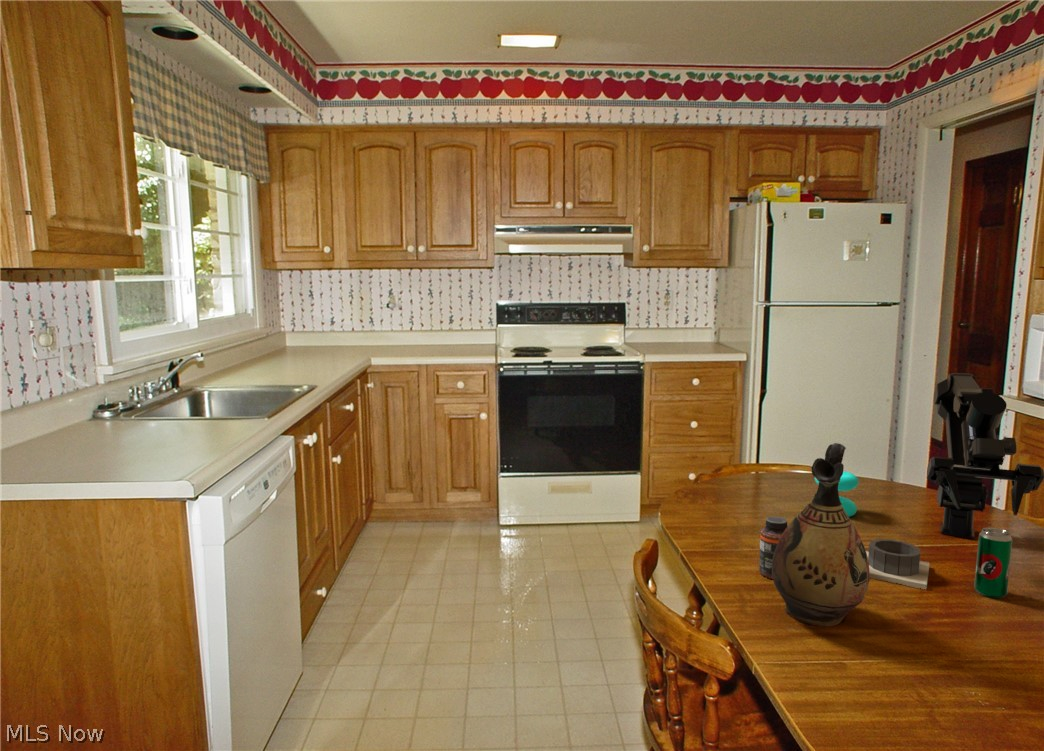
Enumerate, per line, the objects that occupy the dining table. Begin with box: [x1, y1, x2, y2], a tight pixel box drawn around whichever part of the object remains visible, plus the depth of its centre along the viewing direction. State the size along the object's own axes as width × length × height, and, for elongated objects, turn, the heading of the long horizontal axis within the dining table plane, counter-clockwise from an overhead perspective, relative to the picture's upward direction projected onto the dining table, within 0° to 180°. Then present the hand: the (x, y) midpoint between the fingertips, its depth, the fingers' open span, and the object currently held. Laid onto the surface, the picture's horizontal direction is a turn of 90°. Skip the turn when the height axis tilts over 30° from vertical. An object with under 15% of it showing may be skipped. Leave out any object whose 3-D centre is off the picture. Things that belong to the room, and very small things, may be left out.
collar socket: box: [866, 538, 930, 591], centre depth 134 cm, size 12×12×5 cm
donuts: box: [814, 470, 859, 518], centre depth 168 cm, size 10×10×10 cm
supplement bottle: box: [758, 516, 788, 580], centre depth 132 cm, size 6×6×11 cm
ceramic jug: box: [772, 442, 871, 627], centre depth 116 cm, size 17×15×30 cm
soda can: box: [973, 526, 1014, 599], centre depth 124 cm, size 5×5×12 cm
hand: (987, 511), depth 130 cm, fingers open, 9 cm apart
